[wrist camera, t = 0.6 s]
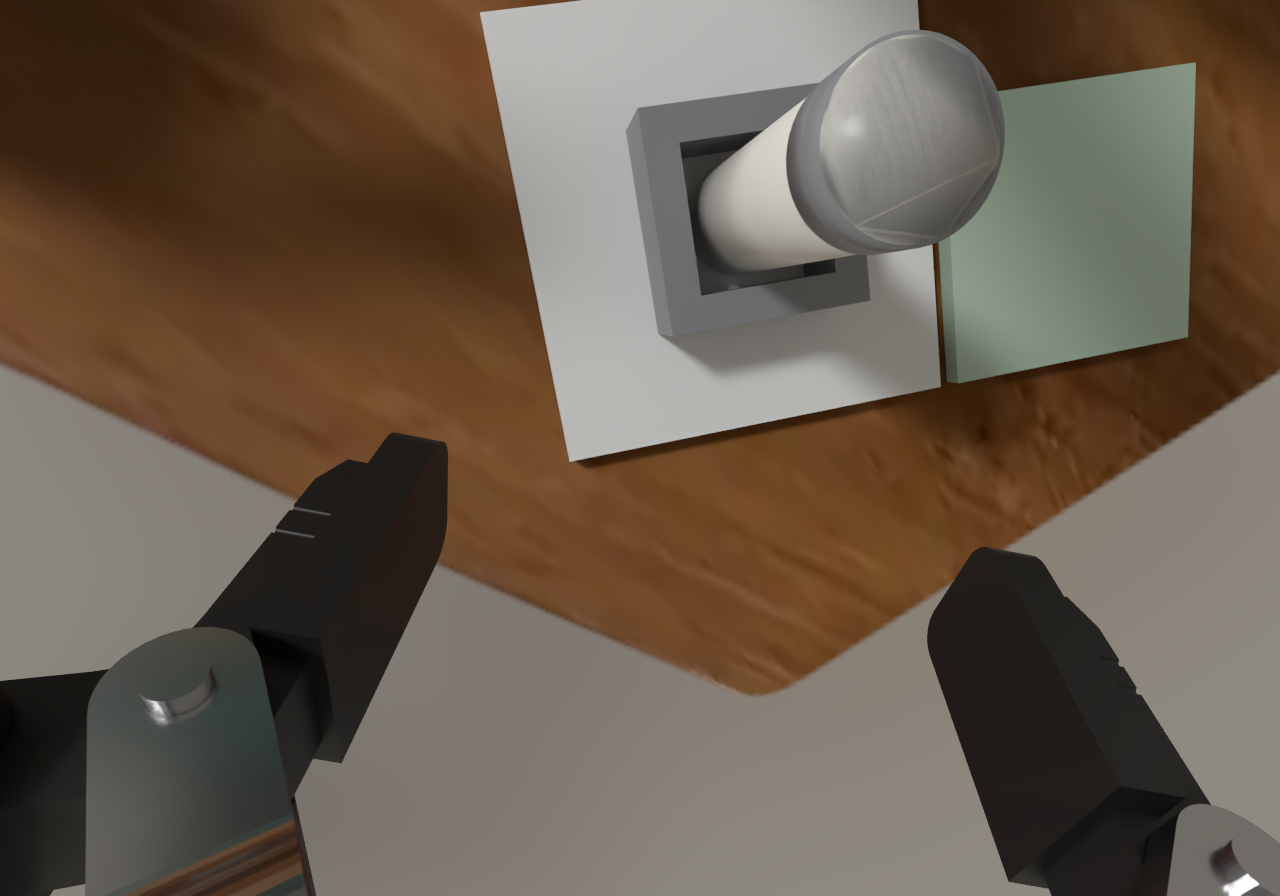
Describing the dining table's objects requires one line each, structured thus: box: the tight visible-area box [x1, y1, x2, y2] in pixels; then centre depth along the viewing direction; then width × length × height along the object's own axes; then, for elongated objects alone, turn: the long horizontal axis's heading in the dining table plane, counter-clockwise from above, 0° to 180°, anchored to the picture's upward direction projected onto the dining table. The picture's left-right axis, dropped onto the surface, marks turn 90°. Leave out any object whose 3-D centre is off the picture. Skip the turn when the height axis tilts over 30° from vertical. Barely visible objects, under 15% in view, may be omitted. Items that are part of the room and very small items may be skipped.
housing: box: [480, 0, 941, 462], centre depth 30 cm, size 20×20×4 cm
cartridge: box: [688, 30, 1005, 275], centre depth 24 cm, size 5×5×15 cm
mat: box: [939, 62, 1196, 383], centre depth 34 cm, size 14×14×1 cm
